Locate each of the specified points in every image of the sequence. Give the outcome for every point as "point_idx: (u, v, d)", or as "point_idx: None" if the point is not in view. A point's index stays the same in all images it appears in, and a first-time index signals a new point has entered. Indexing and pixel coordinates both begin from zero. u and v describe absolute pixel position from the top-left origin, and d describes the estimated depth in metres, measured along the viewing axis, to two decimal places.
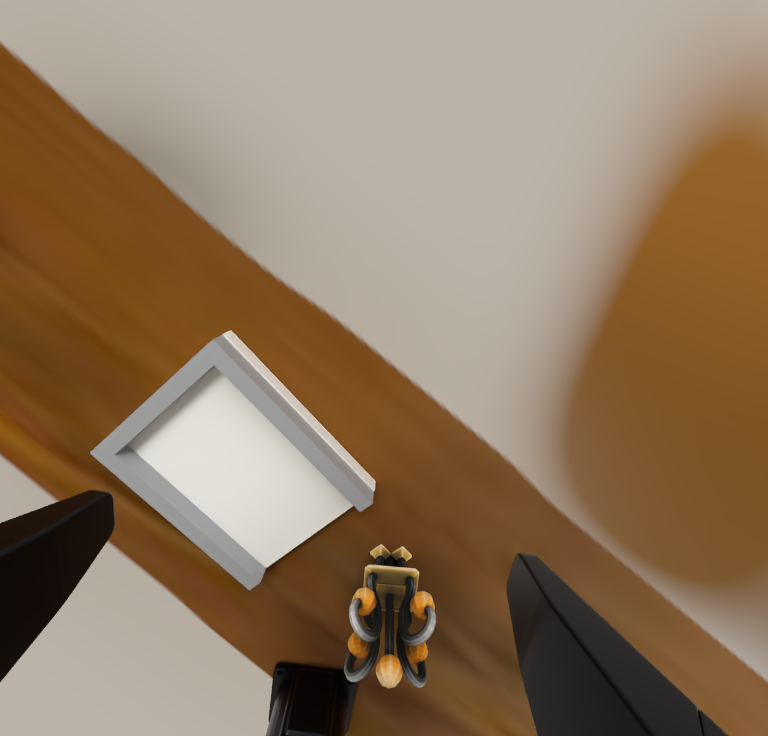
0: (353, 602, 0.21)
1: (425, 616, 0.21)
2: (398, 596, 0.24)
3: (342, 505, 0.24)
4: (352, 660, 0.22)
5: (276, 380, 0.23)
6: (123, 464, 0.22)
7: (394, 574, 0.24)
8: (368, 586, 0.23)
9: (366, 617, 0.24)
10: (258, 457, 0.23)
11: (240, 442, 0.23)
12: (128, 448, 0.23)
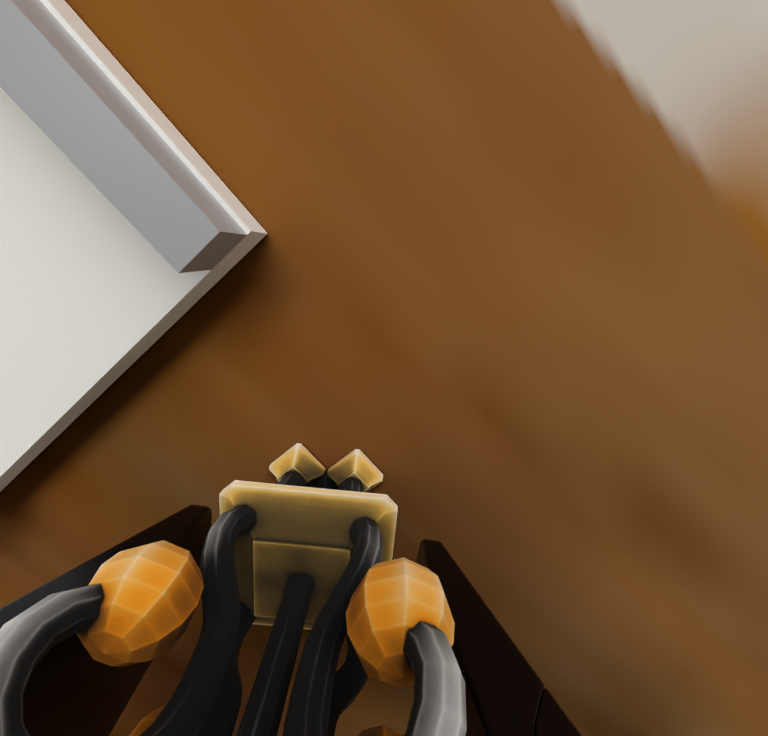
0: (40, 604, 0.04)
1: (410, 677, 0.04)
2: (328, 585, 0.07)
3: (153, 292, 0.08)
4: None
5: None
6: None
7: (314, 511, 0.07)
8: (206, 545, 0.06)
9: None
10: None
11: None
12: None
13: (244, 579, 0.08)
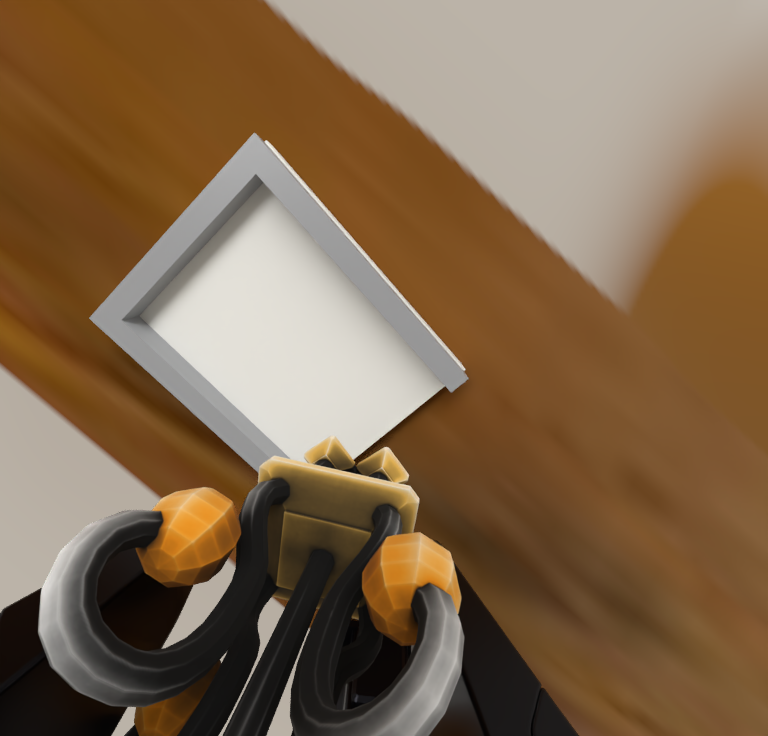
0: (115, 515, 0.05)
1: (415, 631, 0.05)
2: (347, 564, 0.08)
3: (421, 393, 0.18)
4: None
5: (334, 217, 0.17)
6: (133, 334, 0.17)
7: (342, 492, 0.08)
8: (244, 505, 0.07)
9: None
10: (312, 326, 0.18)
11: (288, 305, 0.17)
12: (140, 319, 0.18)
13: (272, 549, 0.08)
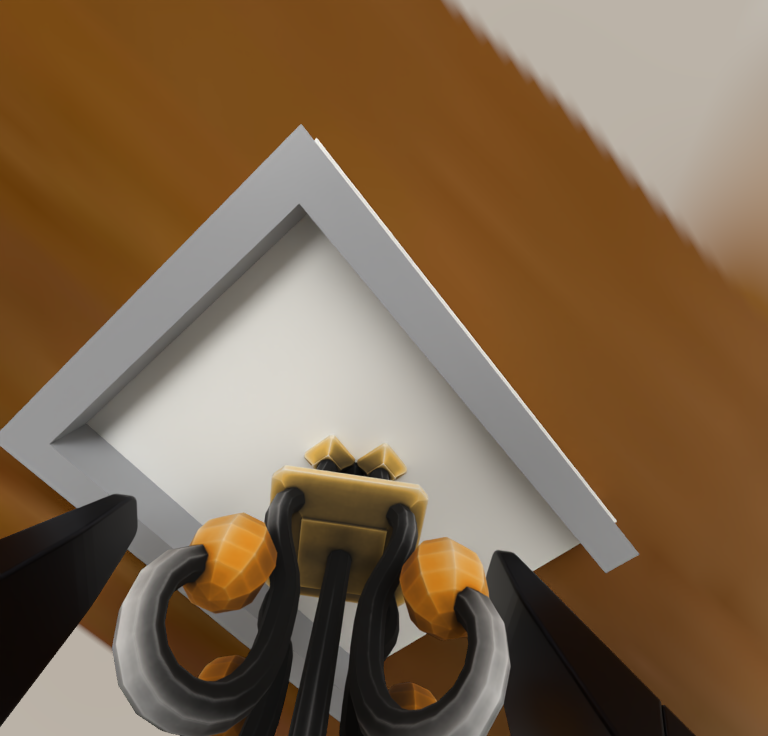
0: (163, 556, 0.05)
1: (457, 630, 0.05)
2: (364, 560, 0.08)
3: (540, 551, 0.12)
4: None
5: None
6: (71, 466, 0.10)
7: (356, 495, 0.08)
8: (267, 519, 0.07)
9: None
10: None
11: (336, 417, 0.10)
12: (87, 430, 0.10)
13: None
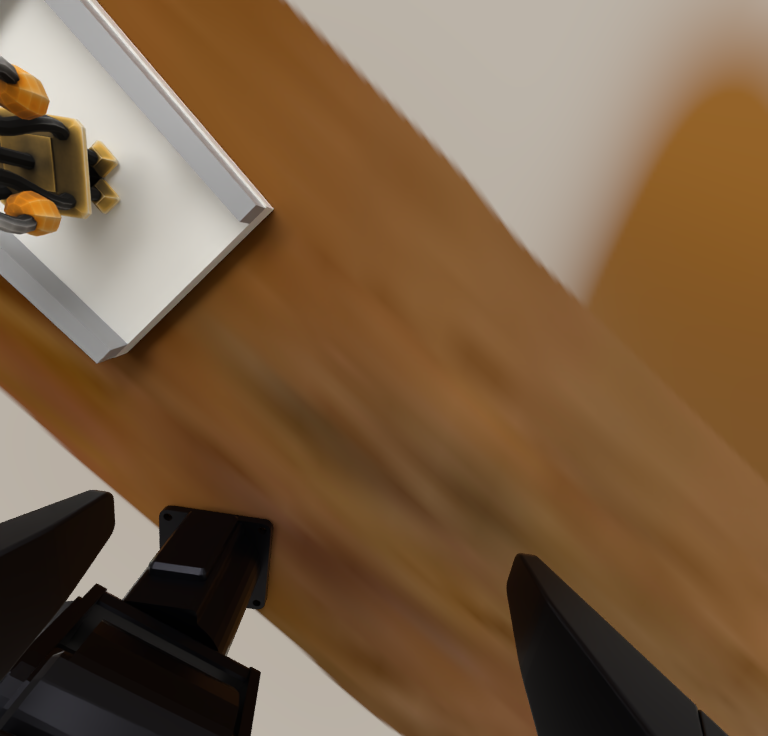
0: None
1: (0, 83, 0.11)
2: (42, 161, 0.14)
3: (223, 234, 0.17)
4: None
5: (113, 22, 0.15)
6: None
7: None
8: None
9: None
10: None
11: None
12: None
13: (2, 164, 0.14)
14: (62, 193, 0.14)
